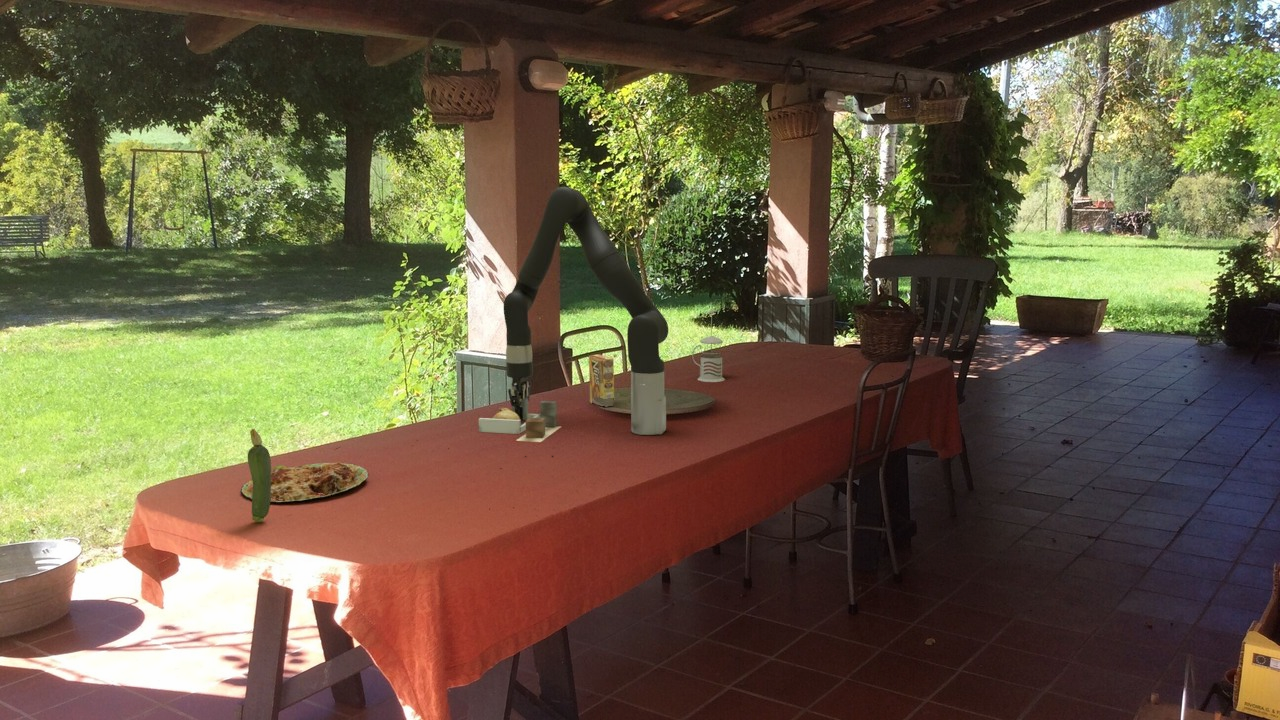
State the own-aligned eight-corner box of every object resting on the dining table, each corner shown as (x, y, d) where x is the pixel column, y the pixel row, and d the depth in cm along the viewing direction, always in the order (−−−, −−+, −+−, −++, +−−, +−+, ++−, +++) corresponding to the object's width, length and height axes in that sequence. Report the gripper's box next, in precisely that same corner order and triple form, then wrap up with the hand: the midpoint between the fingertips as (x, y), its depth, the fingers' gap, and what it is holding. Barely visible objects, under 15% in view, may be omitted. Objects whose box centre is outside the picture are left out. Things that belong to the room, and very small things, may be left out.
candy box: (615, 406, 318) (614, 357, 316) (603, 407, 316) (602, 359, 313) (600, 401, 325) (599, 354, 323) (588, 403, 323) (588, 355, 321)
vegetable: (266, 517, 212) (260, 423, 209) (279, 521, 210) (273, 426, 206) (247, 523, 208) (240, 427, 205) (260, 527, 206) (253, 430, 203)
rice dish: (243, 517, 217) (242, 493, 215) (239, 478, 241) (237, 456, 240) (378, 501, 227) (377, 478, 226) (360, 465, 252) (359, 444, 251)
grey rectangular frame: (541, 421, 296) (540, 398, 295) (519, 437, 278) (519, 411, 277) (502, 419, 299) (502, 396, 297) (479, 434, 281) (478, 409, 280)
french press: (726, 381, 357) (726, 311, 353) (692, 382, 357) (693, 311, 353) (724, 376, 367) (724, 307, 362) (691, 376, 367) (692, 307, 363)
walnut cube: (545, 434, 278) (544, 417, 277) (542, 438, 273) (542, 421, 272) (528, 433, 278) (528, 417, 277) (526, 437, 273) (525, 421, 273)
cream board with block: (562, 430, 287) (561, 401, 286) (541, 446, 269) (540, 416, 268) (538, 428, 289) (537, 400, 287) (515, 445, 271) (515, 414, 269)
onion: (524, 429, 288) (523, 405, 286) (516, 436, 280) (516, 411, 279) (496, 428, 289) (496, 404, 288) (488, 435, 281) (487, 410, 280)
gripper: (523, 364, 286) (525, 424, 289) (539, 356, 299) (540, 414, 302) (498, 363, 287) (500, 423, 290) (515, 355, 301) (516, 413, 304)
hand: (520, 418), depth 296 cm, fingers closed on grey rectangular frame, 2 cm apart
